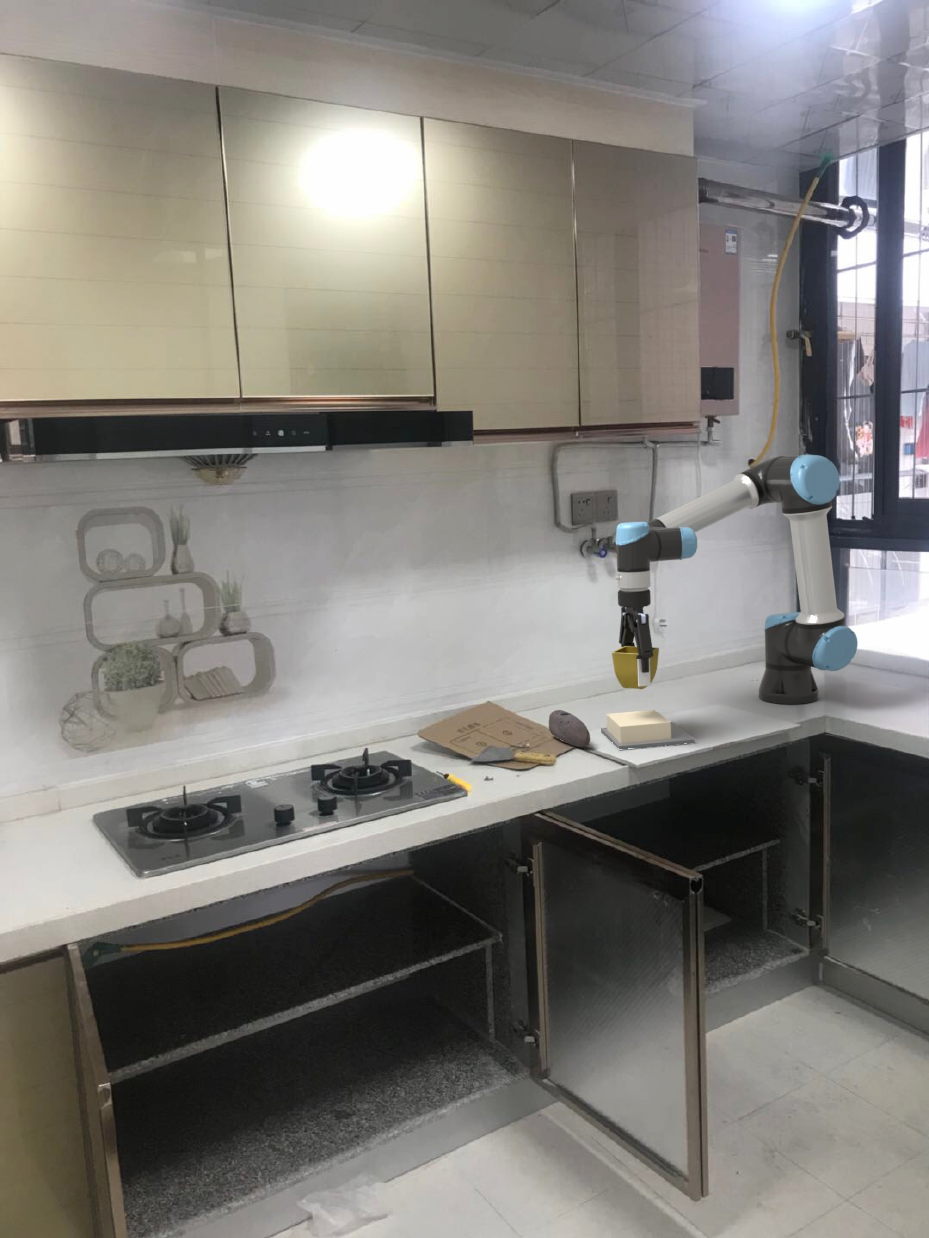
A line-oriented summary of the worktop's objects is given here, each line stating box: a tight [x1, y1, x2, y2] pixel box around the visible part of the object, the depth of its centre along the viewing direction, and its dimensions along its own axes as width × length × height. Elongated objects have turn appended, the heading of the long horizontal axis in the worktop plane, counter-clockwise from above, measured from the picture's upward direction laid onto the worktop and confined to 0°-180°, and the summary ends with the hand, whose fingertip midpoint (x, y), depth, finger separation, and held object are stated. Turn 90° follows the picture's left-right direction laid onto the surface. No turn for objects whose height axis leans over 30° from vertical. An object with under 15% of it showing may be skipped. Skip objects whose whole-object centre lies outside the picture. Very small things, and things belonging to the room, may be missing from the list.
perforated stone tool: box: [548, 709, 591, 748], centre depth 225 cm, size 15×5×7 cm, turn 23°
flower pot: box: [611, 646, 660, 690], centre depth 224 cm, size 9×9×9 cm
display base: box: [600, 709, 696, 749], centre depth 227 cm, size 18×16×5 cm
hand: (636, 680), depth 224 cm, fingers closed on flower pot, 12 cm apart
